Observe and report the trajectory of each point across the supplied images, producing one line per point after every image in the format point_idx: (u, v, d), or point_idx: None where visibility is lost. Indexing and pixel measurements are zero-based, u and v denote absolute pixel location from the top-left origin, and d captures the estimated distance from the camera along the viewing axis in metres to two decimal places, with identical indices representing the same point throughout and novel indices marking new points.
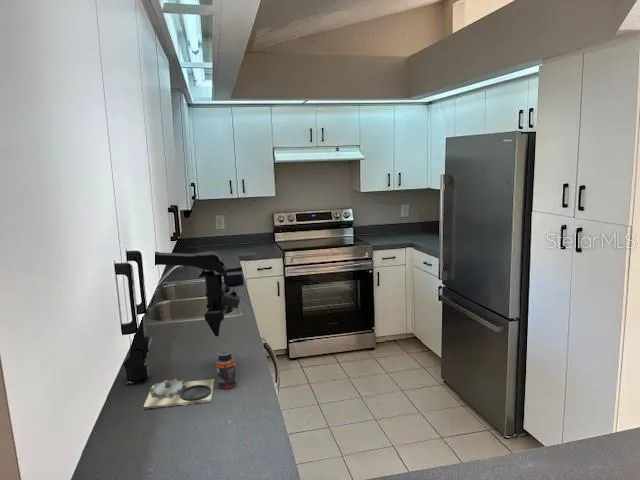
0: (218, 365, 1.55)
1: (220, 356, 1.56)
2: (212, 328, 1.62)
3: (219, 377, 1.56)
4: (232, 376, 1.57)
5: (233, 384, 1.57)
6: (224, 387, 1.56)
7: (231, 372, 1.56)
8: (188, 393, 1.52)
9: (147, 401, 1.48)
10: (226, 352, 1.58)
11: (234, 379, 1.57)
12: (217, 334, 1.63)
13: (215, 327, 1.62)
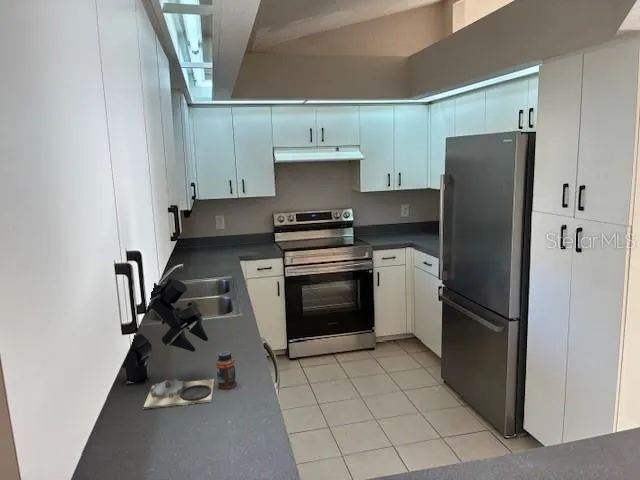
0: (218, 365, 1.55)
1: (220, 356, 1.56)
2: (183, 347, 1.53)
3: (219, 377, 1.56)
4: (232, 376, 1.57)
5: (233, 384, 1.57)
6: (224, 387, 1.56)
7: (231, 372, 1.56)
8: (188, 393, 1.52)
9: (147, 401, 1.48)
10: (226, 352, 1.58)
11: (234, 379, 1.57)
12: (193, 349, 1.54)
13: (185, 344, 1.53)
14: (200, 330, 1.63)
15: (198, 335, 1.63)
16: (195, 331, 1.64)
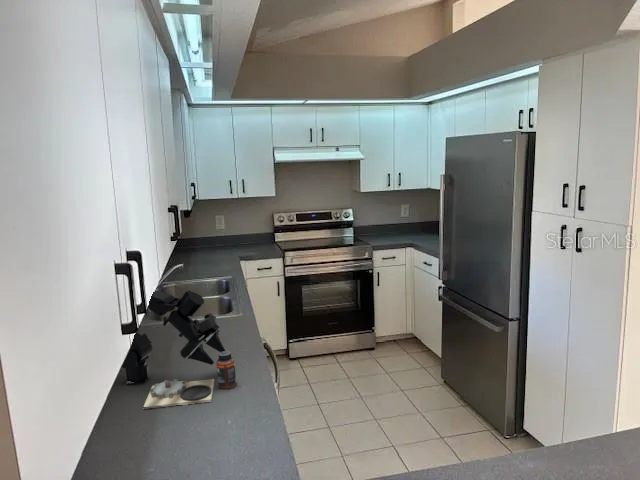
0: (218, 365, 1.55)
1: (220, 356, 1.56)
2: (201, 360, 1.53)
3: (219, 377, 1.56)
4: (232, 376, 1.57)
5: (233, 384, 1.57)
6: (224, 387, 1.56)
7: (231, 372, 1.56)
8: (188, 393, 1.52)
9: (147, 401, 1.48)
10: (226, 352, 1.58)
11: (234, 379, 1.57)
12: (211, 362, 1.53)
13: (203, 357, 1.53)
14: (217, 342, 1.62)
15: (215, 347, 1.63)
16: (212, 343, 1.63)
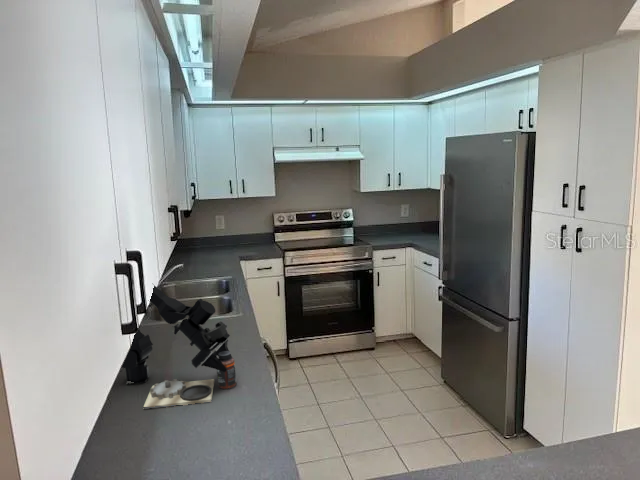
0: None
1: (220, 356, 1.56)
2: (215, 367, 1.54)
3: (219, 377, 1.56)
4: (232, 376, 1.57)
5: (233, 384, 1.57)
6: (224, 387, 1.56)
7: (231, 372, 1.56)
8: (188, 393, 1.52)
9: (147, 401, 1.48)
10: (226, 352, 1.58)
11: (234, 379, 1.57)
12: (224, 369, 1.54)
13: (216, 365, 1.54)
14: None
15: None
16: None
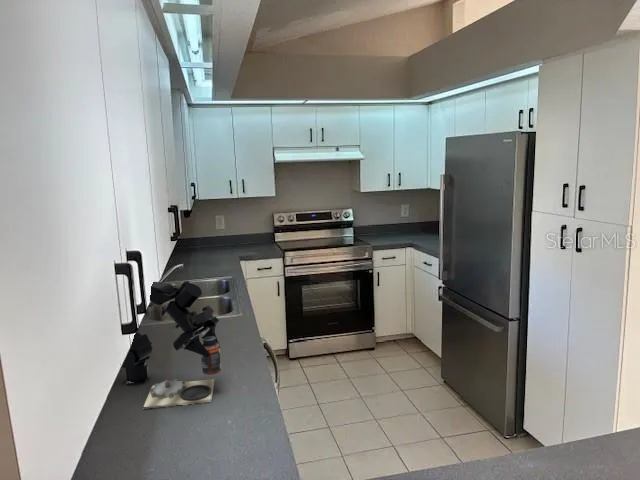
0: None
1: (204, 341, 1.52)
2: (197, 352, 1.50)
3: (203, 362, 1.52)
4: (216, 362, 1.52)
5: (217, 370, 1.53)
6: (207, 373, 1.52)
7: (215, 358, 1.52)
8: (188, 393, 1.52)
9: (147, 401, 1.48)
10: (211, 337, 1.53)
11: (218, 365, 1.53)
12: (206, 354, 1.50)
13: (199, 349, 1.50)
14: None
15: None
16: None
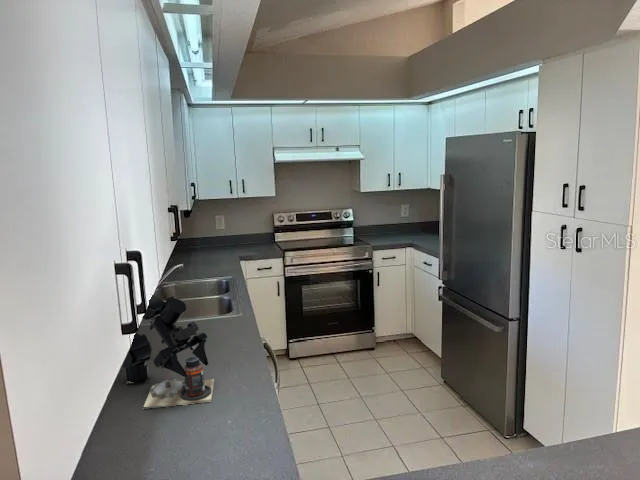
0: None
1: (186, 362, 1.49)
2: (175, 371, 1.47)
3: (185, 383, 1.50)
4: (197, 384, 1.49)
5: (198, 393, 1.50)
6: (189, 394, 1.49)
7: (196, 380, 1.49)
8: None
9: (147, 401, 1.48)
10: (194, 358, 1.51)
11: (200, 387, 1.50)
12: (184, 374, 1.46)
13: (176, 368, 1.46)
14: (201, 353, 1.55)
15: (199, 358, 1.55)
16: (197, 353, 1.56)
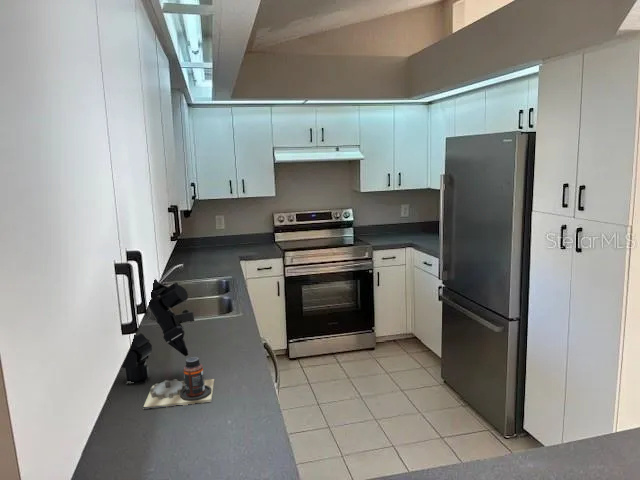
0: (184, 371, 1.49)
1: (186, 362, 1.49)
2: (178, 349, 1.54)
3: (185, 383, 1.50)
4: (197, 384, 1.49)
5: (198, 393, 1.50)
6: (189, 394, 1.49)
7: (196, 380, 1.49)
8: None
9: (147, 401, 1.48)
10: (194, 358, 1.51)
11: (200, 387, 1.50)
12: (186, 353, 1.55)
13: (180, 346, 1.55)
14: (182, 341, 1.65)
15: None
16: None
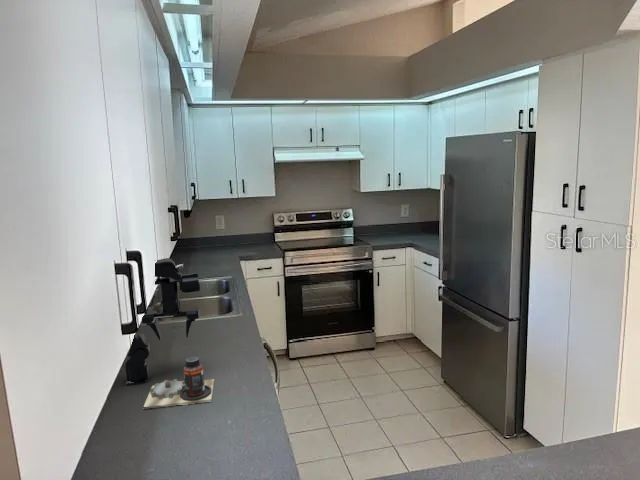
0: (184, 371, 1.49)
1: (186, 362, 1.49)
2: (189, 329, 1.67)
3: (185, 383, 1.50)
4: (197, 384, 1.49)
5: (198, 393, 1.50)
6: (189, 394, 1.49)
7: (196, 380, 1.49)
8: None
9: (147, 401, 1.48)
10: (194, 358, 1.51)
11: (200, 387, 1.50)
12: (188, 334, 1.69)
13: None
14: None
15: (158, 331, 1.66)
16: (157, 326, 1.65)
